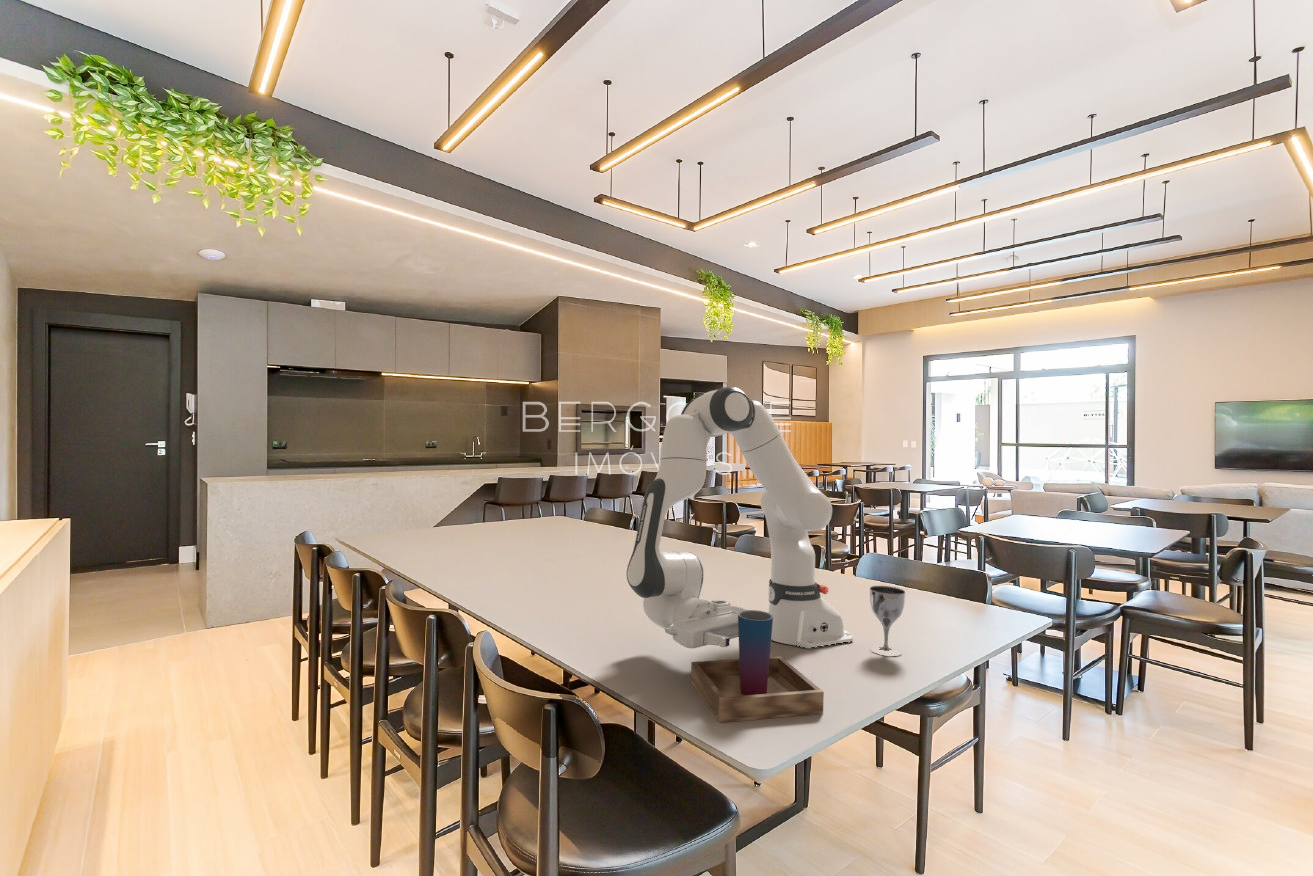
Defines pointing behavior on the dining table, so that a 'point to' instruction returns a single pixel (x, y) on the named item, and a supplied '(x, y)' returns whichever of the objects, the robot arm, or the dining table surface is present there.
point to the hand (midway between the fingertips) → (743, 638)
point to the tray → (783, 696)
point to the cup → (754, 650)
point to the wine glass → (887, 607)
